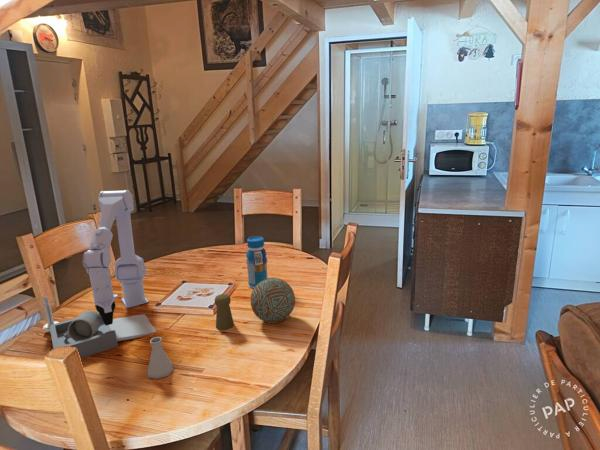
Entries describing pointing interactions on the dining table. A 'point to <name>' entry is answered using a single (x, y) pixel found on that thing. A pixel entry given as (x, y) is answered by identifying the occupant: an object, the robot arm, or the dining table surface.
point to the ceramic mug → (84, 326)
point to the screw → (48, 314)
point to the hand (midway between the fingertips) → (108, 324)
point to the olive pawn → (223, 312)
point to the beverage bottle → (256, 261)
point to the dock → (103, 334)
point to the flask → (158, 360)
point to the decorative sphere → (272, 300)
